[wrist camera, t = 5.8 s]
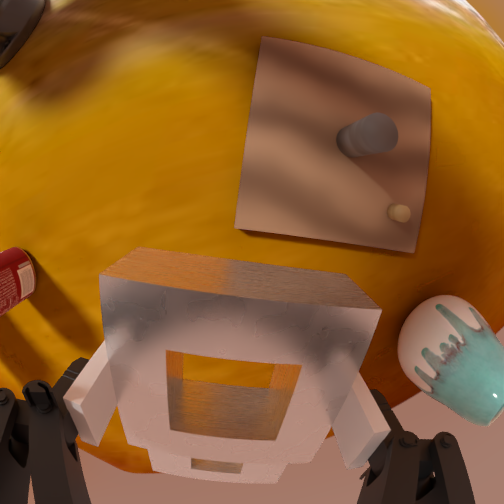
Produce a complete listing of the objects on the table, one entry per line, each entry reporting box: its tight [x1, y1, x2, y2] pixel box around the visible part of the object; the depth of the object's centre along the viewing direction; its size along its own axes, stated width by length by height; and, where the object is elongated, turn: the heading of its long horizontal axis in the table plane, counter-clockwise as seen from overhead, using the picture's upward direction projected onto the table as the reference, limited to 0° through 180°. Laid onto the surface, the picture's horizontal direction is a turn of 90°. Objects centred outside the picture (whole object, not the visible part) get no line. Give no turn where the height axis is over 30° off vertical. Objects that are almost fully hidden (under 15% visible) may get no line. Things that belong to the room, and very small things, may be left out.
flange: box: [99, 247, 382, 483], centre depth 12 cm, size 17×10×4 cm, turn 172°
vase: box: [397, 295, 504, 426], centre depth 21 cm, size 12×12×18 cm
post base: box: [234, 36, 431, 253], centre depth 20 cm, size 19×19×8 cm
